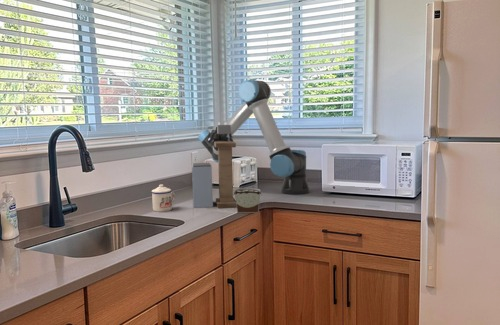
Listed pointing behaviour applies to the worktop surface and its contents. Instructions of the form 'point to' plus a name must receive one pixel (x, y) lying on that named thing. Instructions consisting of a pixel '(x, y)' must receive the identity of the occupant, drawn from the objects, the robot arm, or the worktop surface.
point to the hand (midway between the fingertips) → (222, 124)
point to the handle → (224, 129)
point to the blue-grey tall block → (202, 185)
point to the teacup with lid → (162, 199)
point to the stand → (225, 174)
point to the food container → (247, 200)
